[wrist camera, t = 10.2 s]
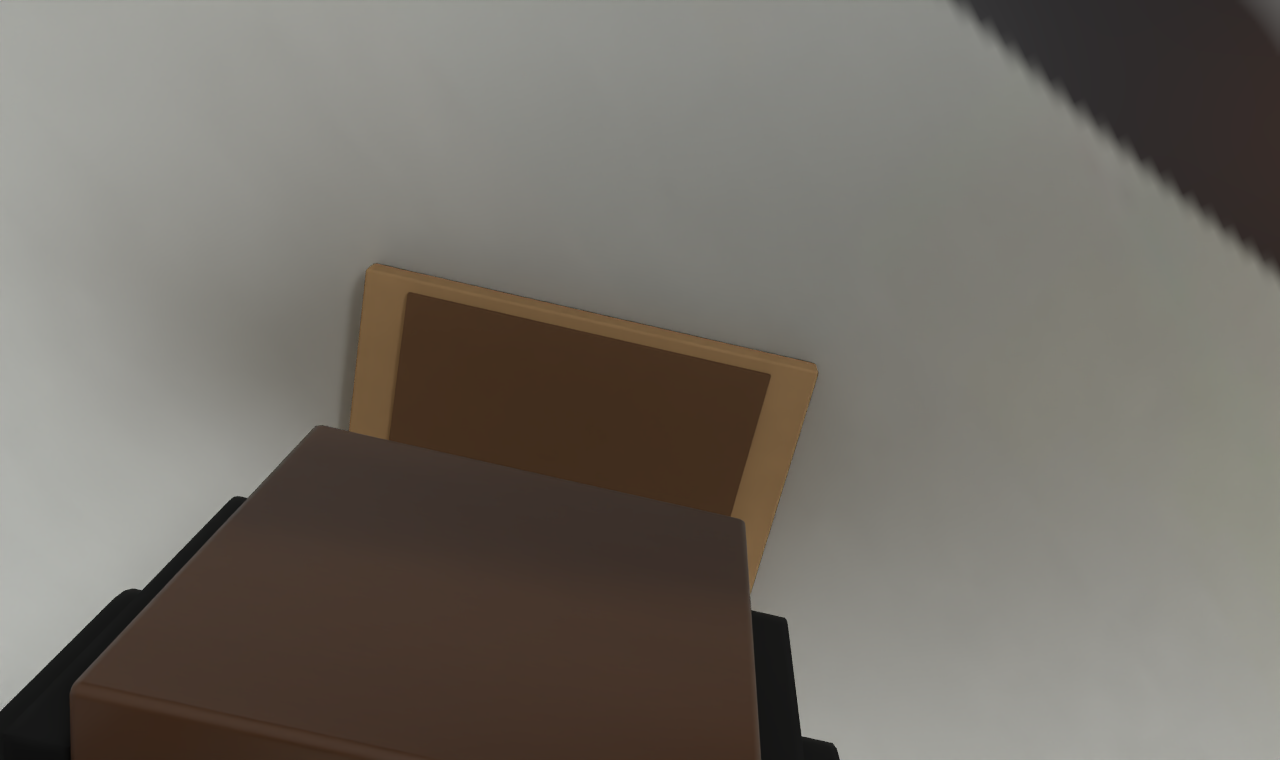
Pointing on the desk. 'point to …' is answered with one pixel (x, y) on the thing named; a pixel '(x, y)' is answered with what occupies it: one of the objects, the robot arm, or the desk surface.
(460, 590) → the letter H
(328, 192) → the desk surface
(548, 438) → the word mat
